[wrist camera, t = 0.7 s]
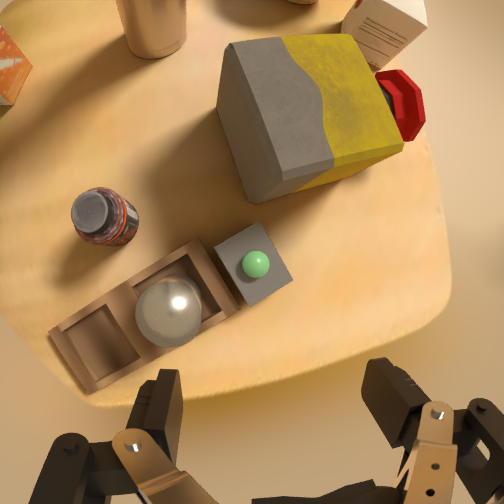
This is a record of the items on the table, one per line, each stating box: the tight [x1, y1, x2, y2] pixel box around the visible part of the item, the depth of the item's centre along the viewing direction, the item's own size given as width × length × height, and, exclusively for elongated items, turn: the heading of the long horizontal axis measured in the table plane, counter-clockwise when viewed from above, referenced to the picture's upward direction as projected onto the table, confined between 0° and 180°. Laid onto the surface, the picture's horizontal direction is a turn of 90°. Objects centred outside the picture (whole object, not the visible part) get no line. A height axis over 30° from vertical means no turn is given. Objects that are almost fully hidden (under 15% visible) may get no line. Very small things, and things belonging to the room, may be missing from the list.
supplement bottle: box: [71, 187, 139, 246], centre depth 31 cm, size 6×6×11 cm
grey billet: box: [135, 273, 201, 348], centre depth 31 cm, size 6×6×11 cm
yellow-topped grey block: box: [216, 34, 426, 205], centre depth 33 cm, size 15×24×15 cm, turn 108°
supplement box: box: [340, 0, 428, 69], centre depth 35 cm, size 9×9×15 cm
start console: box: [213, 221, 293, 307], centre depth 37 cm, size 8×6×5 cm
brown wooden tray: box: [48, 237, 240, 395], centre depth 36 cm, size 24×10×2 cm, turn 120°
